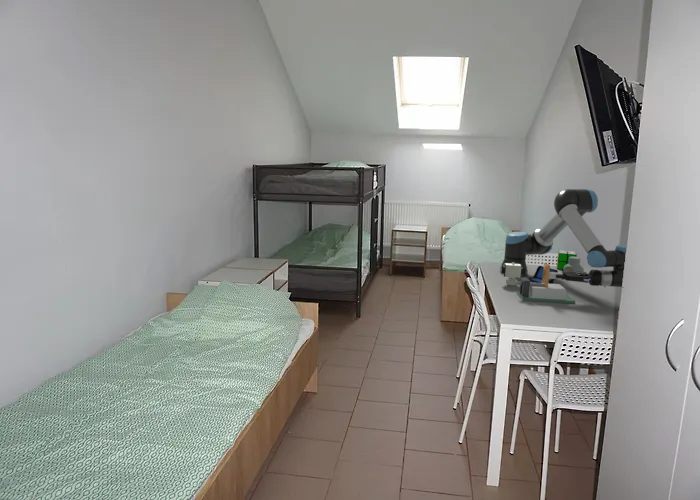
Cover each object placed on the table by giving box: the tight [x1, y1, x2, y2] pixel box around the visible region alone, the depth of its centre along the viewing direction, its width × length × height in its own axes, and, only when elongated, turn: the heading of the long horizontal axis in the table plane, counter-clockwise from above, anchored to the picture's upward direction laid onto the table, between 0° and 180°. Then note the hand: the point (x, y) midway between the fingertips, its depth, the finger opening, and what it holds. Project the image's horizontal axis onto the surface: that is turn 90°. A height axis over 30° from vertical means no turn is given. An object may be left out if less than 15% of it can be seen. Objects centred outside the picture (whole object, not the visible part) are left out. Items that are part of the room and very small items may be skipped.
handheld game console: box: [527, 265, 559, 284], centre depth 293 cm, size 12×11×7 cm
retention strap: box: [515, 263, 551, 287], centre depth 258 cm, size 14×5×10 cm, turn 85°
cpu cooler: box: [516, 277, 576, 304], centre depth 259 cm, size 24×12×9 cm, turn 85°
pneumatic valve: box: [499, 262, 525, 287], centre depth 283 cm, size 6×12×12 cm, turn 81°
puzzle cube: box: [556, 249, 578, 270], centre depth 329 cm, size 10×10×10 cm
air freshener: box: [562, 256, 585, 273], centre depth 313 cm, size 11×8×10 cm
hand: (548, 275), depth 257 cm, fingers closed
